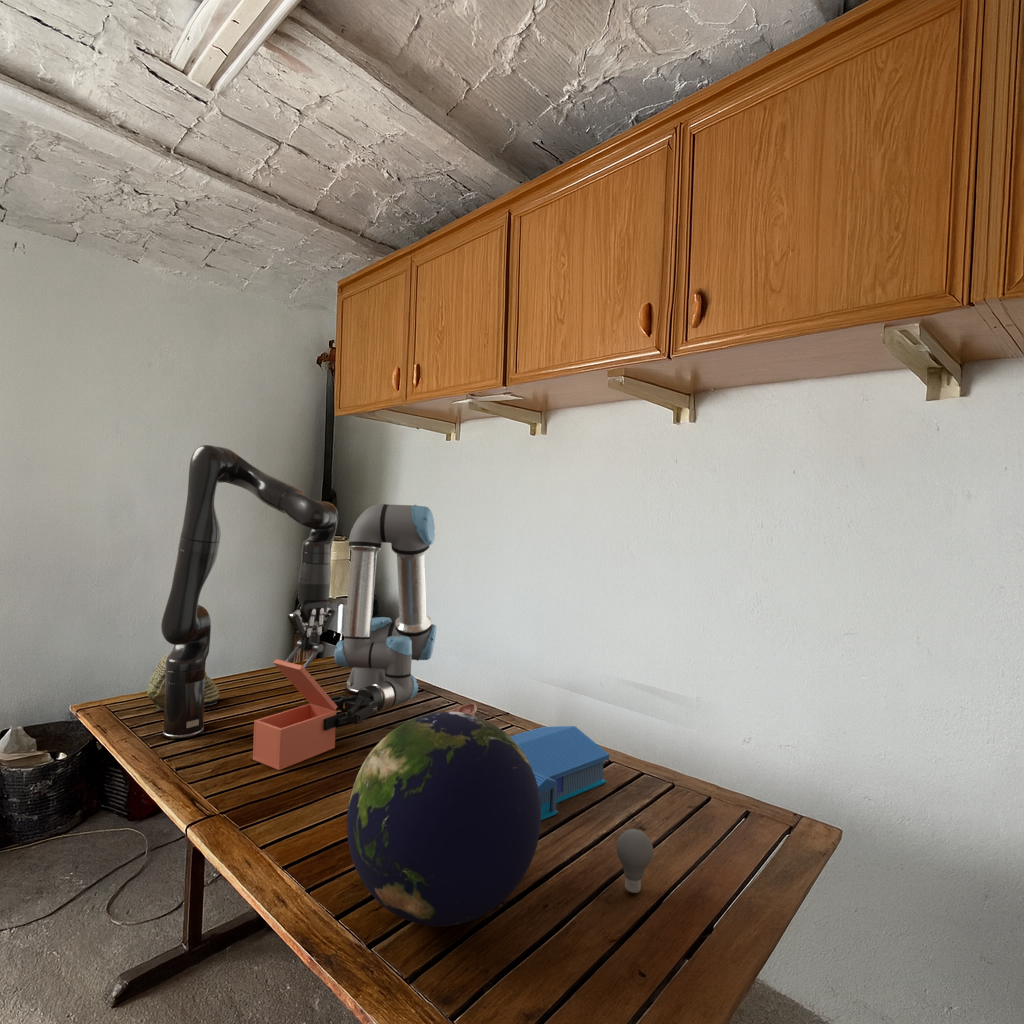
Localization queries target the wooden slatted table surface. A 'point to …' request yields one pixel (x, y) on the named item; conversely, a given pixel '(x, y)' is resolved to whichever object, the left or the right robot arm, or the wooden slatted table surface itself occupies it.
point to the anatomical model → (465, 709)
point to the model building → (561, 763)
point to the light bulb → (634, 857)
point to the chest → (292, 736)
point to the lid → (305, 678)
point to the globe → (444, 819)
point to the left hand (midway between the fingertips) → (309, 650)
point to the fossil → (158, 687)
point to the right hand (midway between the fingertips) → (310, 720)
